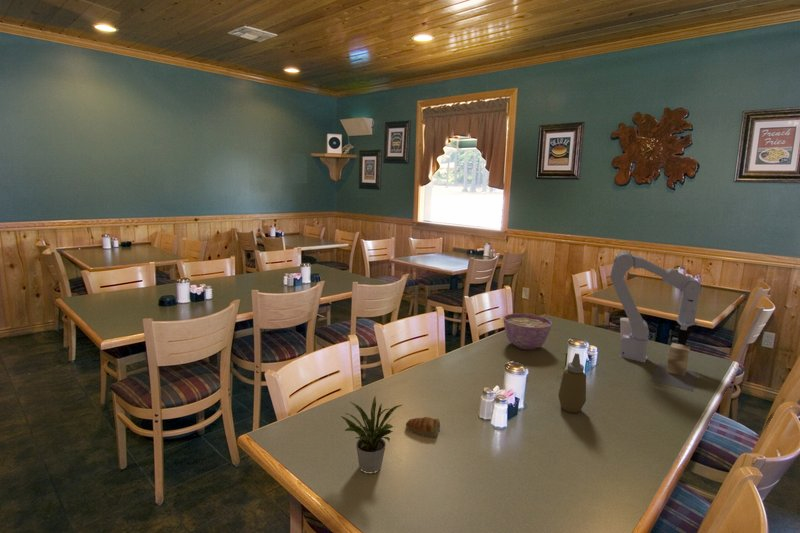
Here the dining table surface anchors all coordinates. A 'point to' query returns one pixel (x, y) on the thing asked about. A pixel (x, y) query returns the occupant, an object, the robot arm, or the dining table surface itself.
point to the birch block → (678, 359)
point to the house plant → (370, 437)
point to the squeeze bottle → (573, 387)
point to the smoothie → (625, 327)
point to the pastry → (424, 426)
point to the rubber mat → (674, 378)
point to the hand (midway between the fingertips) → (682, 343)
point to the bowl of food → (526, 330)
